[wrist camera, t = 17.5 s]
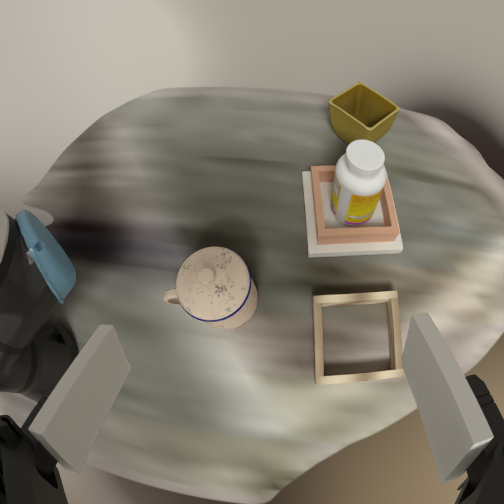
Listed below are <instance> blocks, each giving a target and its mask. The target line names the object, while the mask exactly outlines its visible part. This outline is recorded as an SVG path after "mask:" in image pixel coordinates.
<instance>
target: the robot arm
mask: <svg viewBox="0 0 504 504" xmlns="http://www.w3.org/2000/svg"><path fill="white" fill-rule="evenodd" d="M75 283H76V272H75V269H74V266H73V264H72V263H71V261H70V259H69V258H68V256H67V254H66V253H65V252H64V250H63V249H62V247H61V246H60V245H59V243H58V242H57V241H56V239H55V238H54V237H53V236H52V234H51V233H50V232H49V231H48V230H47V228H46V227H45V226H44V225H43V224H42V223H41V222H40V221H39V220H38V219H37V218H36V217H35V216H34V215H33V214H32V213H31V212H28V211H27V210H23V211H21V212H20V213H18V214H17V215H16V218H15V219H13V218H11V217H10V216H9V215H7V214H6V213H5V212H3V211H2V210H0V392H11V393H20V394H22V395H24V396H26V397H28V398H30V399H33V400H35V401H37V402H38V405H36V406H35V407H34V409H33V410H32V412H31V413H30V415H29V416H28V418H27V420H26V421H25V423H24V424H23V426H22V427H21V428H19V426H18V425H17V424H16V423H15V422H14V420H13V419H12V418H11V417H10V416H8V415H0V504H68V502H67V498H66V495H65V492H64V489H63V485H62V481H61V478H60V474H59V471H58V469H57V467H56V464H57V462H59V463H60V464H61V465H62V466H63V467H64V468H65V469H67V470H69V471H72V472H74V473H77V474H79V473H80V471H81V469H82V467H83V465H84V463H85V460H86V458H87V456H88V454H89V452H90V450H91V448H92V446H93V444H94V441H95V439H96V437H97V435H98V433H99V431H100V429H101V427H102V425H103V423H104V421H105V419H106V417H107V415H108V413H109V411H110V409H111V407H112V405H113V403H114V401H115V399H116V397H117V395H118V393H119V391H120V389H121V387H122V385H123V384H124V382H125V380H126V378H127V376H128V374H129V372H130V370H131V366H130V364H129V362H128V360H127V357H126V355H125V353H124V350H123V348H122V346H121V343H120V341H119V338H118V336H117V333H116V331H115V328H114V326H113V325H100V326H99V327H98V328H97V330H96V331H95V332H94V334H93V335H92V336H91V338H90V339H89V340H88V342H87V343H86V344H85V346H84V347H83V349H82V350H81V351H80V353H79V354H78V351H77V348H76V345H75V342H74V340H73V338H72V336H71V335H70V333H69V332H68V331H67V329H66V328H65V327H63V326H62V325H60V324H59V323H56V322H53V321H50V320H49V319H50V318H51V317H52V315H53V314H54V313H55V312H56V310H57V309H58V308H59V307H60V305H61V304H63V303H64V299H65V298H66V296H67V295H68V294H69V292H70V291H71V289H72V288H73V287H74V285H75ZM401 364H402V366H403V369H404V371H405V374H406V377H407V379H408V382H409V385H410V387H411V390H412V393H413V395H414V398H415V401H416V404H417V407H418V410H419V412H420V415H421V418H422V421H423V424H424V427H425V430H426V434H427V437H428V440H429V443H430V446H431V450H432V453H433V456H434V459H435V463H436V466H437V470H438V474H439V477H440V481H441V484H442V483H445V482H448V481H451V480H454V479H457V478H459V477H460V476H461V475H462V474H463V473H464V472H465V471H467V474H468V478H467V479H466V480H465V481H464V482H463V483H462V484H461V485H460V486H459V488H458V489H457V490H460V489H461V488H462V487H463V488H462V490H461V492H460V494H459V496H458V498H457V500H456V502H455V504H504V419H503V417H502V415H501V413H500V412H499V409H498V407H497V405H496V403H494V400H493V398H492V396H491V395H490V392H489V390H488V389H487V387H486V385H485V383H484V382H483V381H482V380H481V379H480V378H479V377H477V376H476V375H470V376H467V377H465V376H464V374H463V372H462V371H461V369H460V367H459V365H458V363H457V361H456V360H455V358H454V356H453V354H452V353H451V351H450V349H449V347H448V346H447V344H446V342H445V340H444V339H443V337H442V335H441V334H440V332H439V330H438V329H437V327H436V325H435V324H434V322H433V321H432V319H431V317H430V316H429V314H428V313H420V314H412V316H411V321H410V326H409V331H408V335H407V339H406V344H405V348H404V352H403V356H402V360H401Z"/></svg>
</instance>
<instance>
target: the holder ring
mask: <svg viewBox="0 0 504 504" xmlns="http://www.w3.org/2000/svg"><path fill="white" fill-rule="evenodd" d="M373 303H386V307H387V318H388V332H389V348H390V370H385V371H376V372H367V373H356V374H345V375H331V376H324V362H323V327H322V307H326V306H344V305H359V304H373ZM313 325H314V367H315V384H316V385H317V384H334V383H347V382H358V381H368V380H377V379H386V378H393V377H401V376H403V366H402V364H401V360H402V340H401V327H400V315H399V305H398V295H397V291H385V292H371V293H355V294H339V295H320V296H313Z"/></svg>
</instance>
